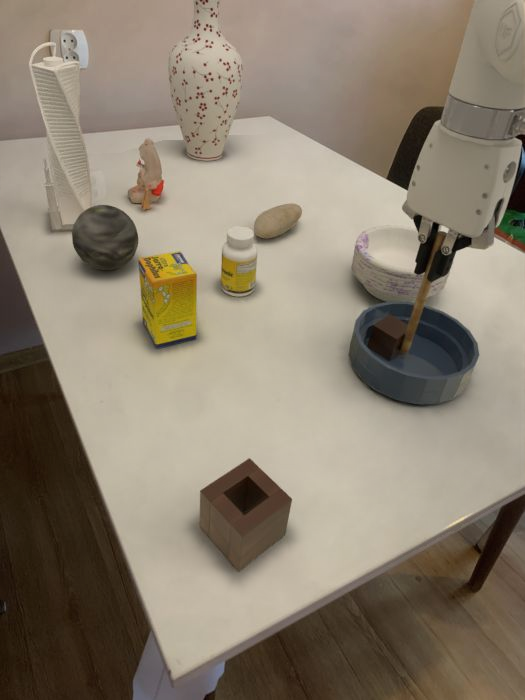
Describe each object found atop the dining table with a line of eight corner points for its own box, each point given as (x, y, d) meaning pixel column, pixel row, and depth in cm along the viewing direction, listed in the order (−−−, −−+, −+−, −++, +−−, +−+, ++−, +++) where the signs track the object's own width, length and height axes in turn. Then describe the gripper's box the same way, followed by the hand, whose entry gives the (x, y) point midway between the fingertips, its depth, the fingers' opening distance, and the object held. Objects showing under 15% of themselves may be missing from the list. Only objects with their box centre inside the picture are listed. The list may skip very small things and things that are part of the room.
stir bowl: (488, 372, 74) (502, 345, 71) (420, 427, 66) (432, 398, 62) (395, 315, 83) (403, 288, 80) (324, 357, 74) (330, 328, 71)
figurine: (126, 190, 109) (131, 129, 102) (160, 195, 111) (167, 135, 104) (127, 209, 102) (133, 144, 95) (163, 213, 104) (171, 150, 97)
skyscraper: (52, 210, 100) (21, 39, 82) (97, 208, 102) (77, 41, 84) (51, 232, 94) (18, 53, 76) (100, 229, 96) (78, 54, 78)
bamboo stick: (410, 352, 74) (450, 234, 62) (404, 355, 73) (444, 236, 62) (403, 347, 74) (441, 229, 63) (397, 351, 74) (435, 232, 62)
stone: (242, 226, 96) (274, 186, 101) (255, 254, 100) (284, 214, 106) (269, 226, 92) (300, 185, 98) (281, 255, 96) (310, 214, 102)
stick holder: (285, 534, 53) (292, 499, 49) (238, 571, 50) (242, 536, 46) (245, 494, 56) (249, 457, 52) (199, 526, 53) (199, 490, 49)
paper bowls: (331, 270, 92) (339, 228, 87) (407, 259, 97) (418, 219, 92) (376, 323, 81) (389, 278, 76) (458, 308, 86) (475, 265, 81)
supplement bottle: (216, 281, 86) (217, 225, 80) (248, 276, 88) (252, 222, 82) (226, 299, 83) (229, 243, 76) (259, 295, 84) (264, 239, 78)
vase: (198, 172, 119) (198, -18, 96) (156, 149, 127) (148, -31, 105) (252, 158, 128) (265, -19, 105) (210, 137, 136) (213, -31, 114)
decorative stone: (92, 246, 91) (84, 189, 85) (148, 255, 91) (145, 199, 84) (65, 276, 84) (54, 217, 77) (127, 287, 83) (121, 228, 77)
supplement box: (142, 324, 76) (136, 257, 69) (181, 315, 79) (180, 249, 72) (155, 350, 72) (151, 281, 65) (197, 339, 75) (197, 272, 68)
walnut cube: (406, 350, 76) (413, 327, 73) (389, 361, 74) (396, 339, 71) (383, 336, 78) (389, 313, 75) (366, 347, 76) (372, 324, 73)
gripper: (571, 135, 52) (501, 294, 64) (437, 93, 60) (397, 240, 72) (535, 149, 48) (467, 316, 60) (396, 101, 56) (361, 256, 68)
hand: (429, 273), depth 66 cm, fingers closed on bamboo stick, 1 cm apart
